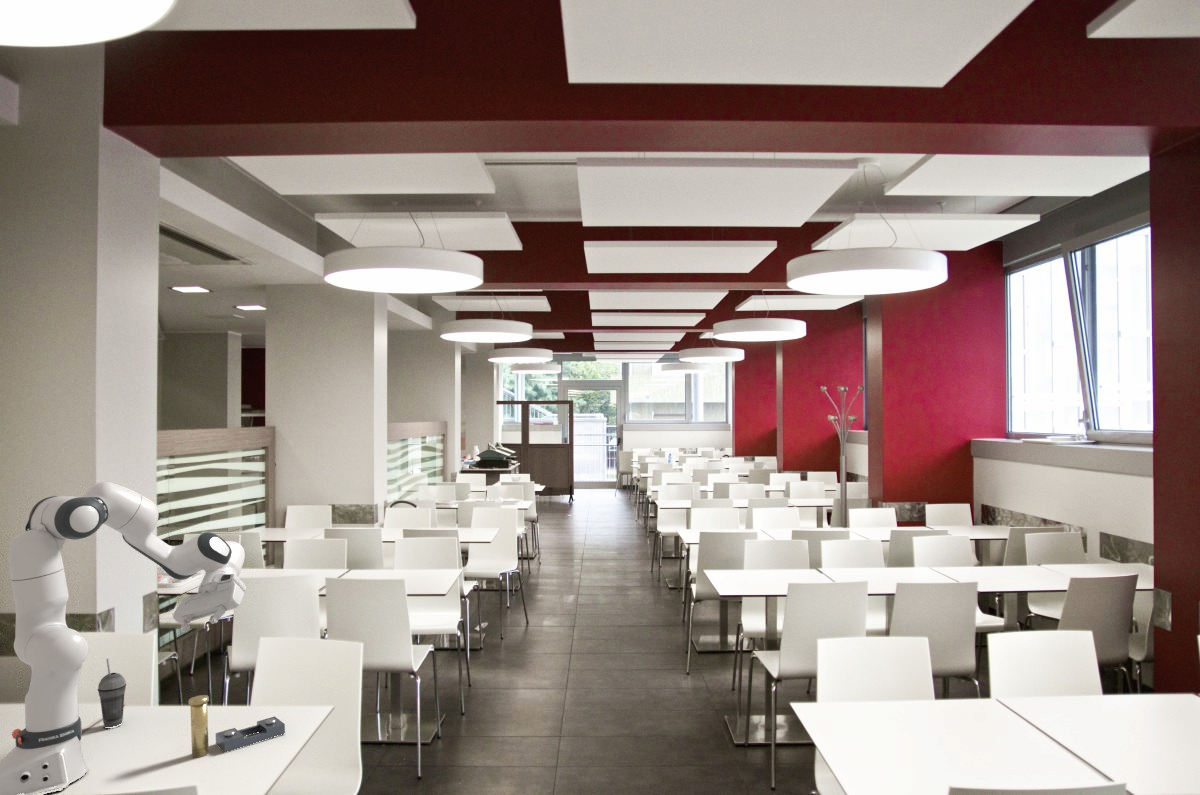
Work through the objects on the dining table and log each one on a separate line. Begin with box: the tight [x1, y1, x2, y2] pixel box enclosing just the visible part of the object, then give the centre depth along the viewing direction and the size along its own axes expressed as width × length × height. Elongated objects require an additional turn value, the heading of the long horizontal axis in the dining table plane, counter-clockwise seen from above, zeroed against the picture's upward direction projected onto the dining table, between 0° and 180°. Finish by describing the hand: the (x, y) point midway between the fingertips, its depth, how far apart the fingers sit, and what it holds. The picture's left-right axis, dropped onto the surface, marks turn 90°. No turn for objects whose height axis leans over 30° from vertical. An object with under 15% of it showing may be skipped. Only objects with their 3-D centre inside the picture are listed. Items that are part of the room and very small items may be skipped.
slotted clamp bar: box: [215, 716, 286, 753], centre depth 217 cm, size 16×8×4 cm, turn 132°
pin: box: [188, 694, 210, 759], centre depth 208 cm, size 5×5×15 cm
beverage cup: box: [97, 658, 127, 727], centre depth 231 cm, size 7×7×20 cm
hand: (198, 626), depth 218 cm, fingers open, 8 cm apart
